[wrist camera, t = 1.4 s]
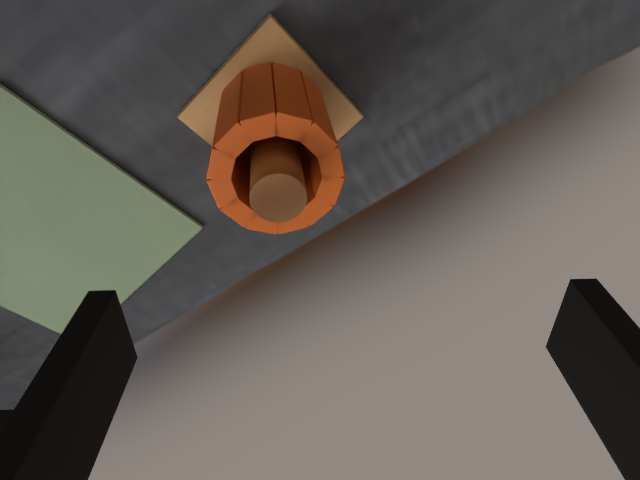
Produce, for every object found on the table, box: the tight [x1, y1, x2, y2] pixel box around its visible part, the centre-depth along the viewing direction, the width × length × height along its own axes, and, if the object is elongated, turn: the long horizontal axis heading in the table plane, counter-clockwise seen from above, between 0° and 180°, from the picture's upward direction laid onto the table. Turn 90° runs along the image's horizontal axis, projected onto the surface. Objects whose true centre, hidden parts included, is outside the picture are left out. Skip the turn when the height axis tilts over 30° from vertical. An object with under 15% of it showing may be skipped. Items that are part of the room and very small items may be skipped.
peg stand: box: [178, 13, 363, 223], centre depth 31 cm, size 10×10×13 cm
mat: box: [0, 83, 203, 334], centre depth 40 cm, size 18×20×1 cm
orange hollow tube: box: [206, 62, 345, 234], centre depth 31 cm, size 8×8×10 cm
